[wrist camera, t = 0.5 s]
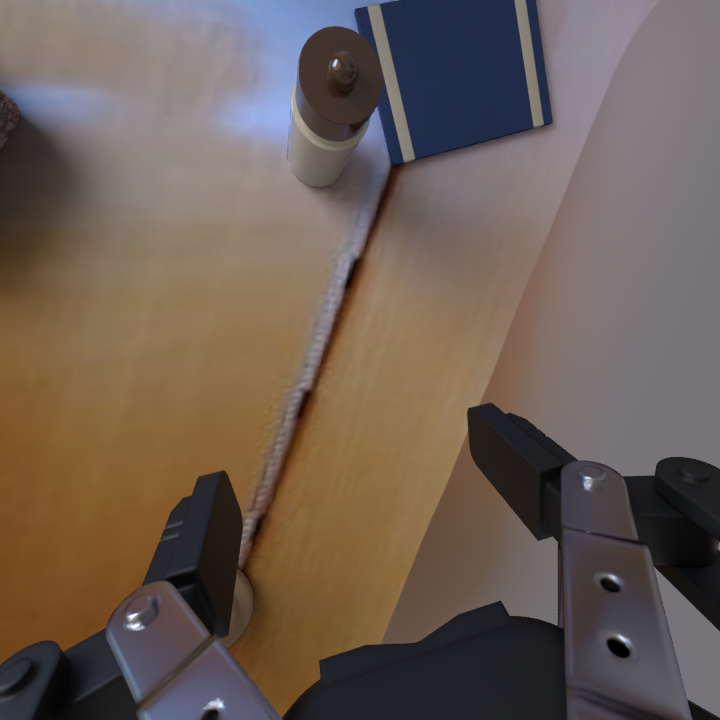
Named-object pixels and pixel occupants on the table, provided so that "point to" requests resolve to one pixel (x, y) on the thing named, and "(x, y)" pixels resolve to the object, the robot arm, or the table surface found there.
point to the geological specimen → (7, 117)
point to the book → (456, 72)
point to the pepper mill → (331, 103)
